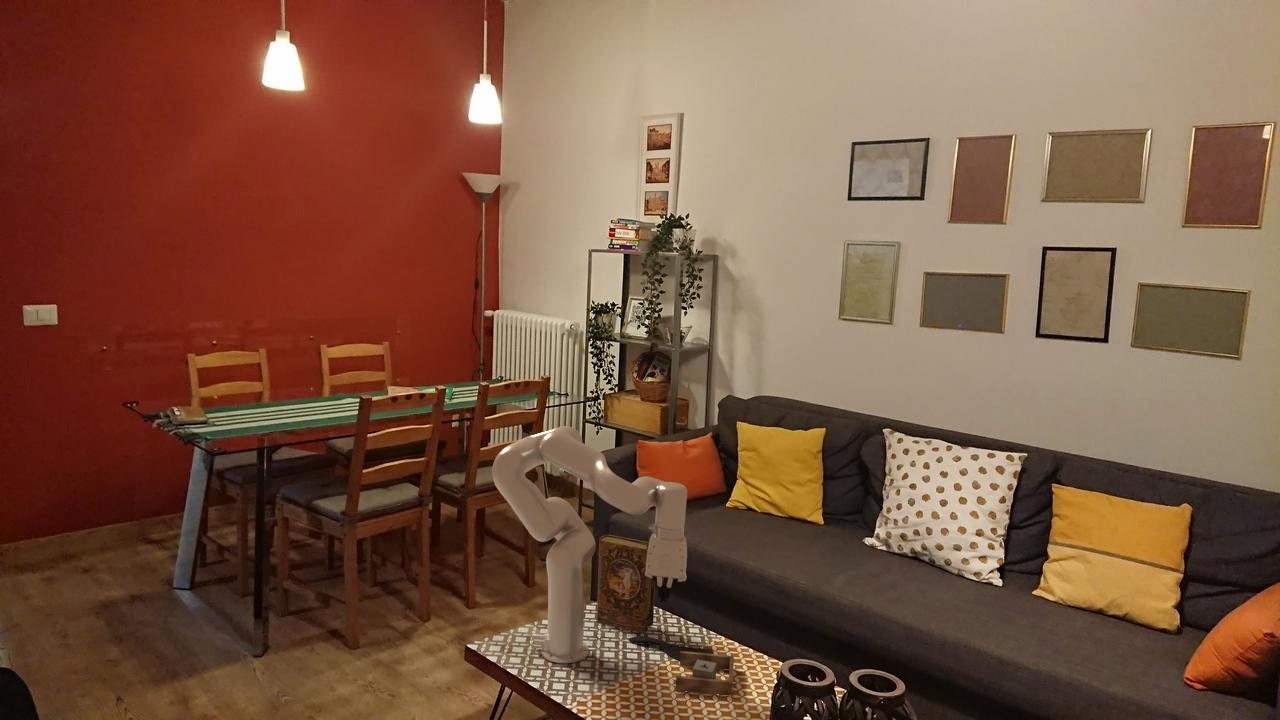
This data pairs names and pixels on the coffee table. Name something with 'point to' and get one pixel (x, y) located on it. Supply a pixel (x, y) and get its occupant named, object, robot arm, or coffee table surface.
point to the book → (624, 584)
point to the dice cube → (704, 669)
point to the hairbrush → (669, 646)
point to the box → (703, 683)
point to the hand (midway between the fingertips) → (663, 599)
